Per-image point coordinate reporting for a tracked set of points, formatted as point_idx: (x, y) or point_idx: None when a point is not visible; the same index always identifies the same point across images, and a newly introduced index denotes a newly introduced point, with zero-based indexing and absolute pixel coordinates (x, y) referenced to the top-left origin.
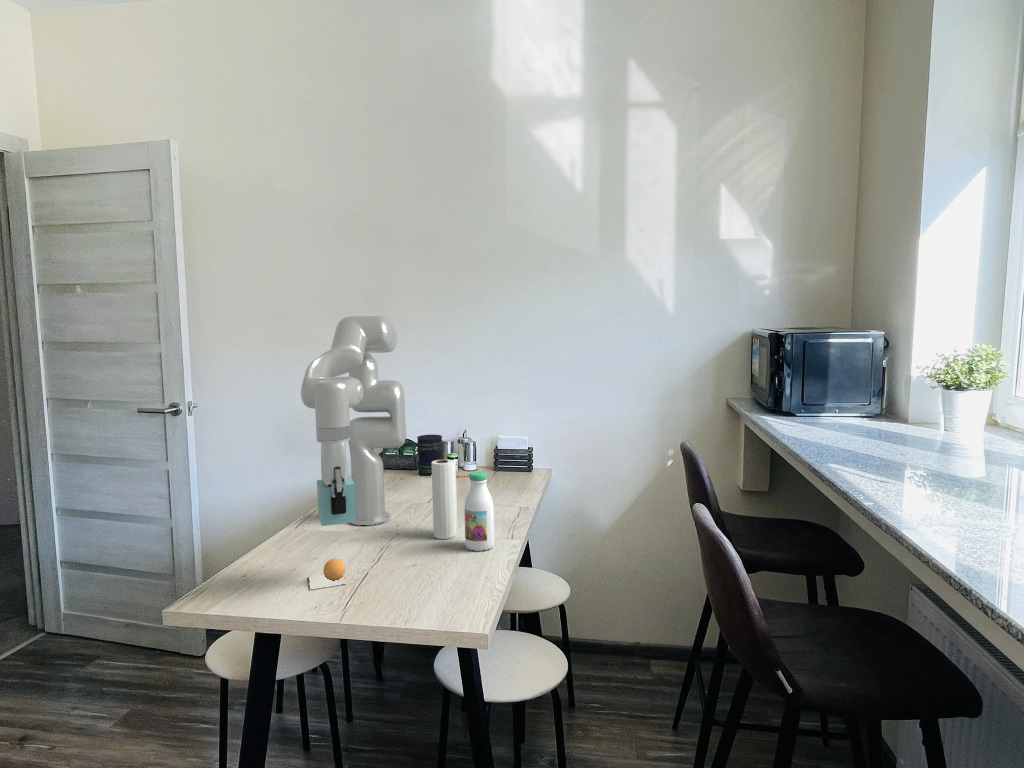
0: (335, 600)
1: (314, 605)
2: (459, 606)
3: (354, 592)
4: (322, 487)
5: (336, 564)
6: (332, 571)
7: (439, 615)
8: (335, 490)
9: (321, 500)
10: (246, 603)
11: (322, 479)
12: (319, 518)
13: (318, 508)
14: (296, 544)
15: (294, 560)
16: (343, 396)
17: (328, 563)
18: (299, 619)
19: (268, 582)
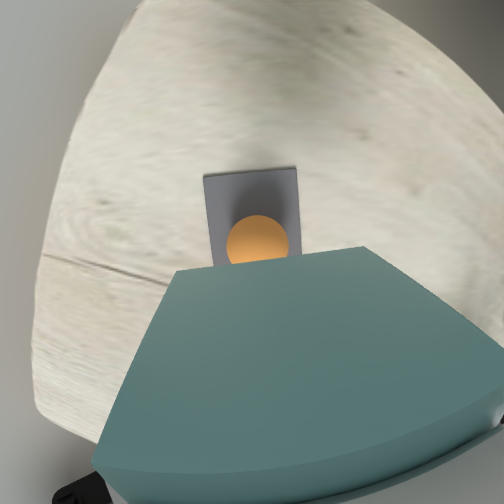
0: (128, 243)
1: (113, 197)
2: (94, 418)
3: (164, 284)
4: (113, 482)
5: (237, 259)
6: (227, 243)
7: (67, 392)
8: (56, 498)
9: (135, 367)
10: (172, 44)
11: (407, 499)
12: (308, 256)
13: (367, 266)
14: (489, 157)
15: (417, 141)
16: None
17: (247, 236)
18: (60, 175)
19: (292, 74)
